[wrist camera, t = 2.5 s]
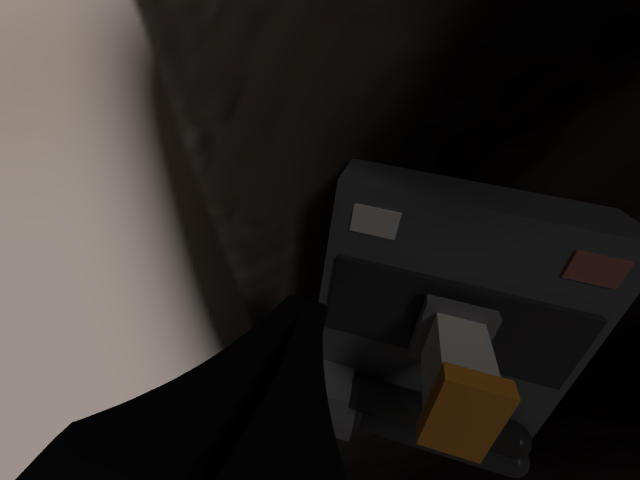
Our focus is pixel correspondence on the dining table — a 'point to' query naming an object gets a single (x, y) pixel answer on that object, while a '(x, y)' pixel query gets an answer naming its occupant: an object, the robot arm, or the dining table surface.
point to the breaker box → (466, 294)
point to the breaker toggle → (460, 379)
